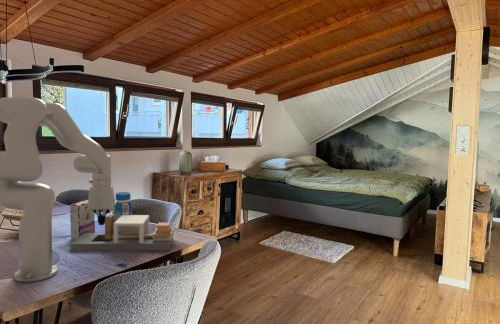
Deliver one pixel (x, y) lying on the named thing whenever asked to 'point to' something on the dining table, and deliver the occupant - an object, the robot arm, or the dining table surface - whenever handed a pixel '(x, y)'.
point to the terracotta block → (163, 228)
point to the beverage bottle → (122, 206)
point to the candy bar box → (81, 219)
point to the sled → (110, 234)
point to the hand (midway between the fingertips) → (101, 224)
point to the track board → (129, 226)
